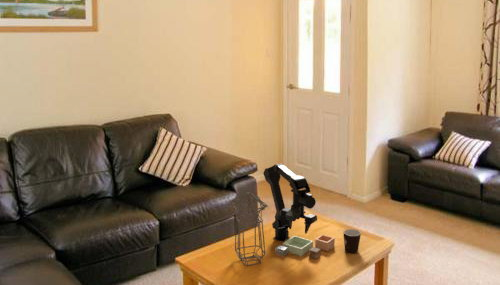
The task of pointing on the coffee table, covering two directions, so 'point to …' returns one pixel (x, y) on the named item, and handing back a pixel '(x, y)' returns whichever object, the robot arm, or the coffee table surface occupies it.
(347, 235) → the coffee mug
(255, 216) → the geometric lantern
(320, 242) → the open square box
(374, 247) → the coffee table surface
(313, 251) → the walnut block
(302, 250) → the bin
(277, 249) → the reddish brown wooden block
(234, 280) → the coffee table surface
